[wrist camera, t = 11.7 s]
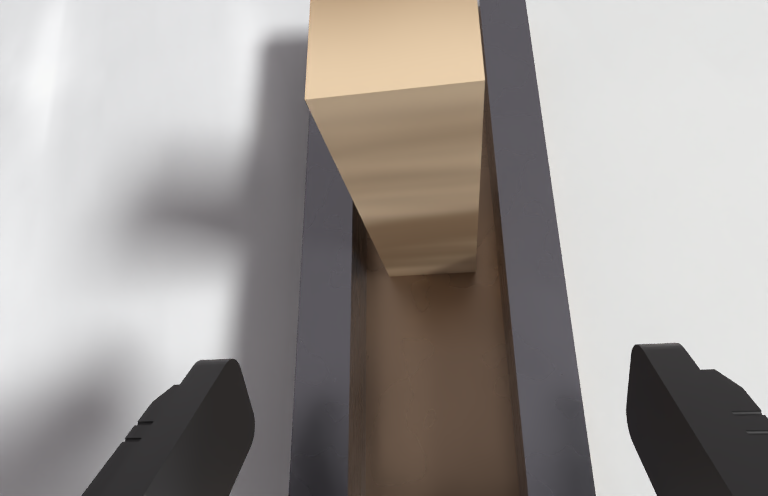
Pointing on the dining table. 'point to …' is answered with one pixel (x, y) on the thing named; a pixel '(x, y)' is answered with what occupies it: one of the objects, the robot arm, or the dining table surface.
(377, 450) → the door track
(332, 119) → the light brown wooden block
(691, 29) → the dining table surface
